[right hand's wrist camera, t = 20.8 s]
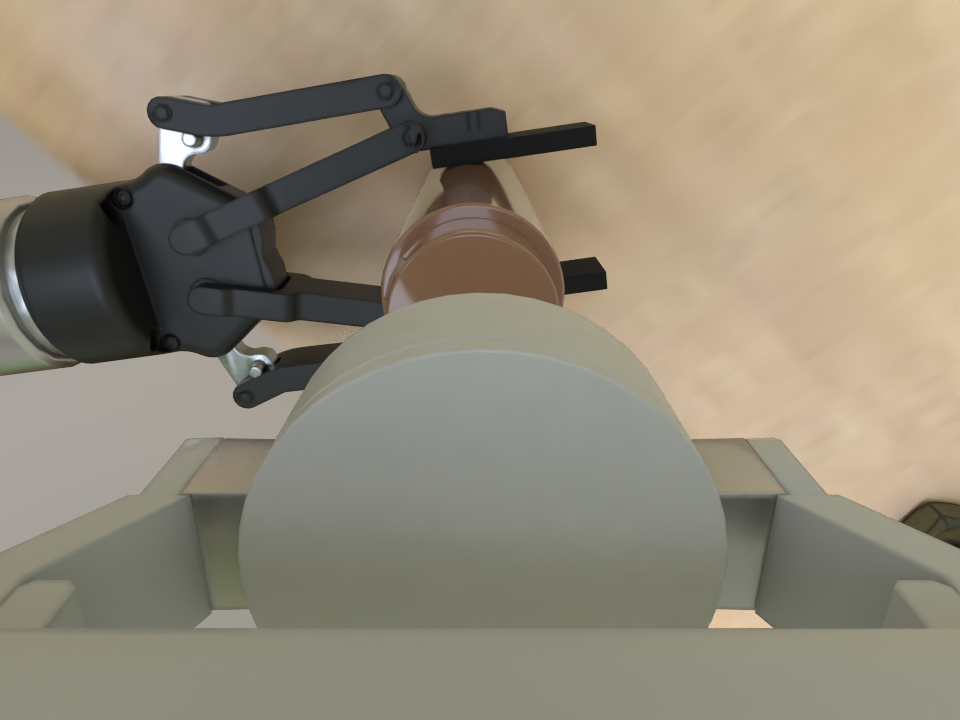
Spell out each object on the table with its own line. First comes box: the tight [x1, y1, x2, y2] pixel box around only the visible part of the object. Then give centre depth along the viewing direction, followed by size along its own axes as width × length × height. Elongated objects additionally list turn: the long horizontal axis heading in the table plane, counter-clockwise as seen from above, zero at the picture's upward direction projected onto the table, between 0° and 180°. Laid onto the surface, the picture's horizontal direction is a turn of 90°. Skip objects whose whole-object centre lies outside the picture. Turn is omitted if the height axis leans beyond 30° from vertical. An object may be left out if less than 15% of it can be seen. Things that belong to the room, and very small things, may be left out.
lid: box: [238, 293, 728, 628], centre depth 9 cm, size 6×6×2 cm
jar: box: [381, 159, 564, 316], centre depth 26 cm, size 5×5×20 cm
